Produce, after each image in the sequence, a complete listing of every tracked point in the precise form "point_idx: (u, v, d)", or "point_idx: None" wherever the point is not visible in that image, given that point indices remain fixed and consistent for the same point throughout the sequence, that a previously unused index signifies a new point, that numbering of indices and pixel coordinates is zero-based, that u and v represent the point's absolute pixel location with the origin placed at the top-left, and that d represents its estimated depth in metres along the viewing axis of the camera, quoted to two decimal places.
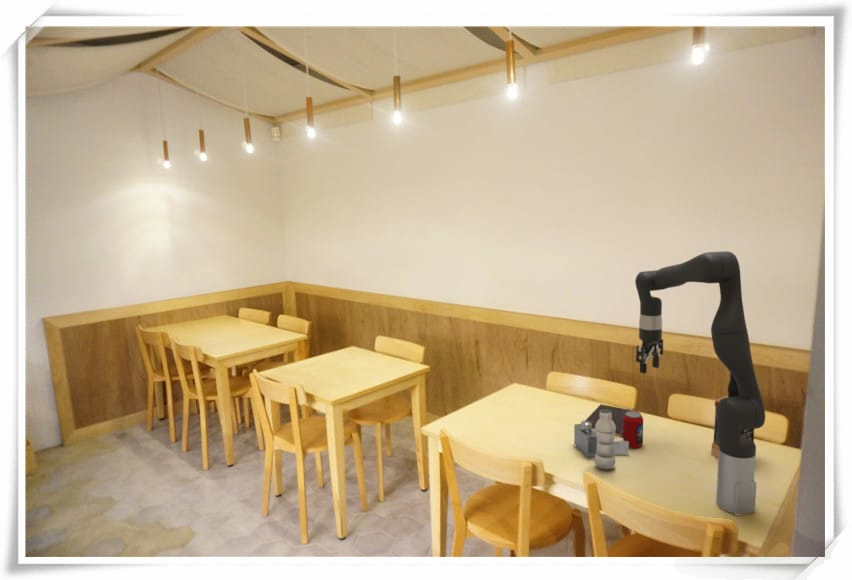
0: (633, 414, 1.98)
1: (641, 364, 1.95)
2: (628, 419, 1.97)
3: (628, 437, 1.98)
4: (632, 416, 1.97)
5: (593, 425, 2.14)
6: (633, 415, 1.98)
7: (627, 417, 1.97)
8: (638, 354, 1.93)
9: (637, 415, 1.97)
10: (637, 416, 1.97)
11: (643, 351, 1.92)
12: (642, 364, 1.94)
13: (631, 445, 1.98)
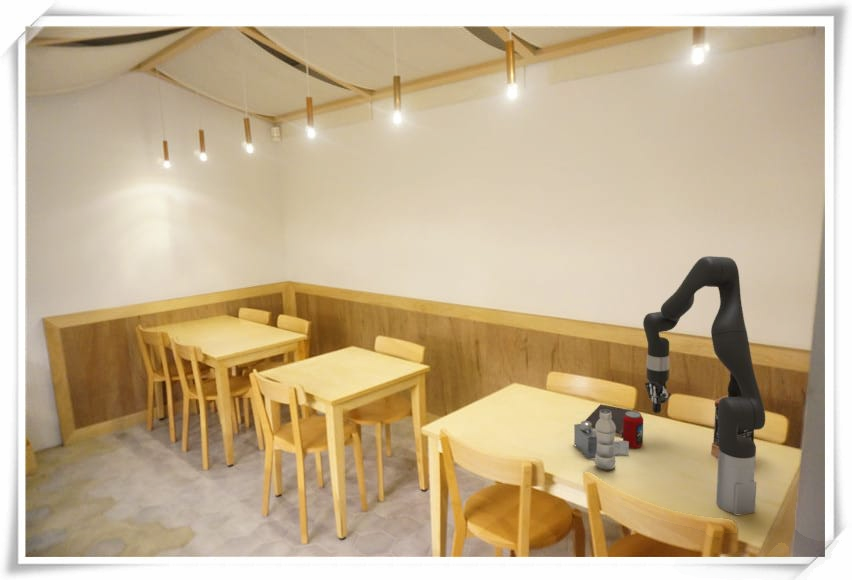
0: (633, 414, 1.98)
1: (658, 404, 1.98)
2: (628, 419, 1.97)
3: (628, 437, 1.98)
4: (632, 416, 1.97)
5: (593, 425, 2.14)
6: (633, 415, 1.98)
7: (627, 417, 1.97)
8: (663, 400, 1.94)
9: (637, 415, 1.97)
10: (637, 416, 1.97)
11: None
12: (659, 404, 1.98)
13: (631, 445, 1.98)
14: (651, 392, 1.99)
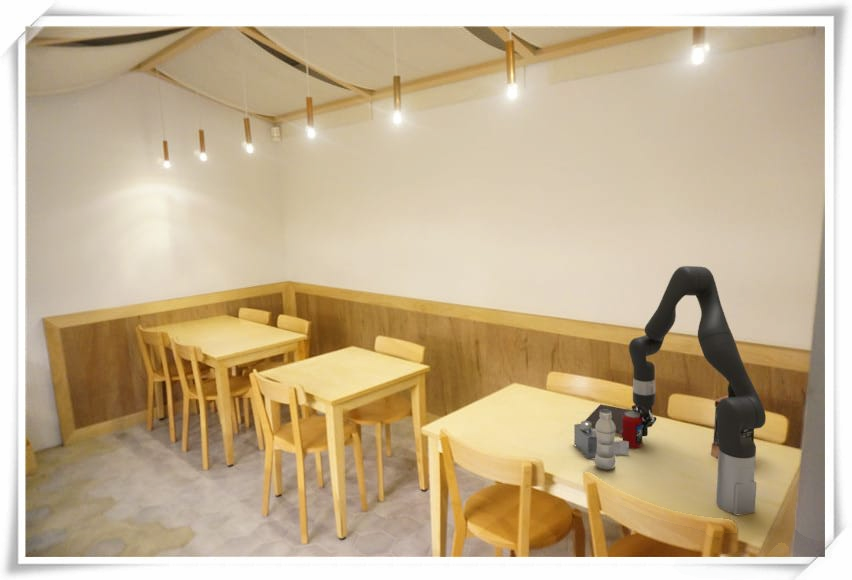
0: (632, 414, 1.98)
1: (645, 428, 1.99)
2: (627, 419, 1.97)
3: (628, 437, 1.98)
4: (631, 416, 1.97)
5: (593, 425, 2.14)
6: (632, 415, 1.98)
7: (626, 417, 1.97)
8: (649, 423, 1.95)
9: (636, 415, 1.97)
10: (636, 416, 1.97)
11: None
12: (646, 428, 1.99)
13: (630, 445, 1.97)
14: None
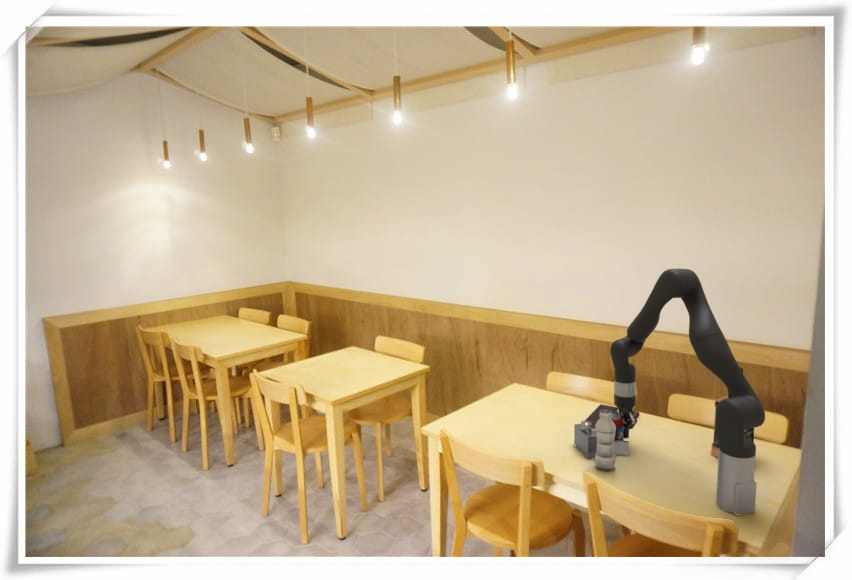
0: (613, 416, 1.97)
1: (626, 430, 1.98)
2: None
3: None
4: (612, 418, 1.96)
5: (593, 425, 2.14)
6: (613, 417, 1.97)
7: None
8: (630, 426, 1.94)
9: (617, 417, 1.96)
10: (617, 418, 1.96)
11: None
12: (627, 430, 1.98)
13: None
14: None
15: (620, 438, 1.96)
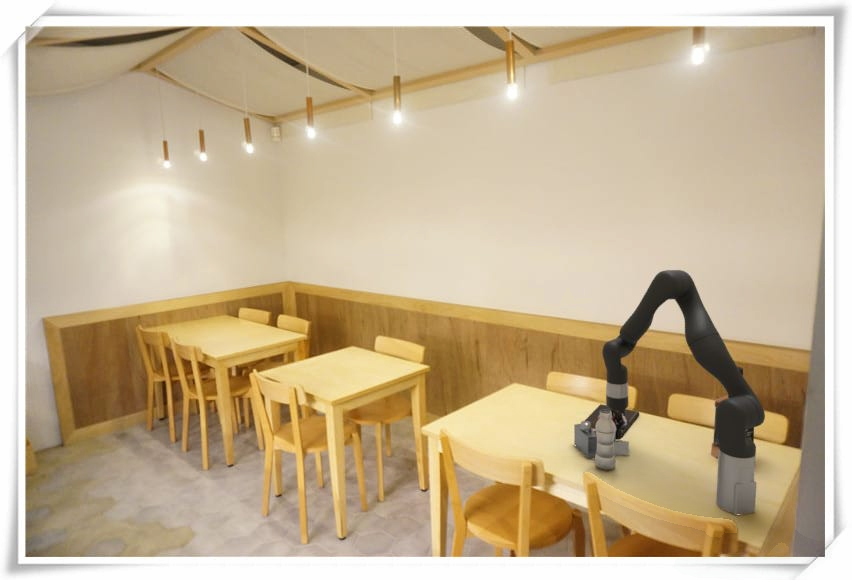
0: None
1: (619, 431, 1.97)
2: None
3: None
4: None
5: (593, 425, 2.14)
6: None
7: None
8: (622, 427, 1.94)
9: None
10: None
11: None
12: (620, 431, 1.97)
13: None
14: None
15: None
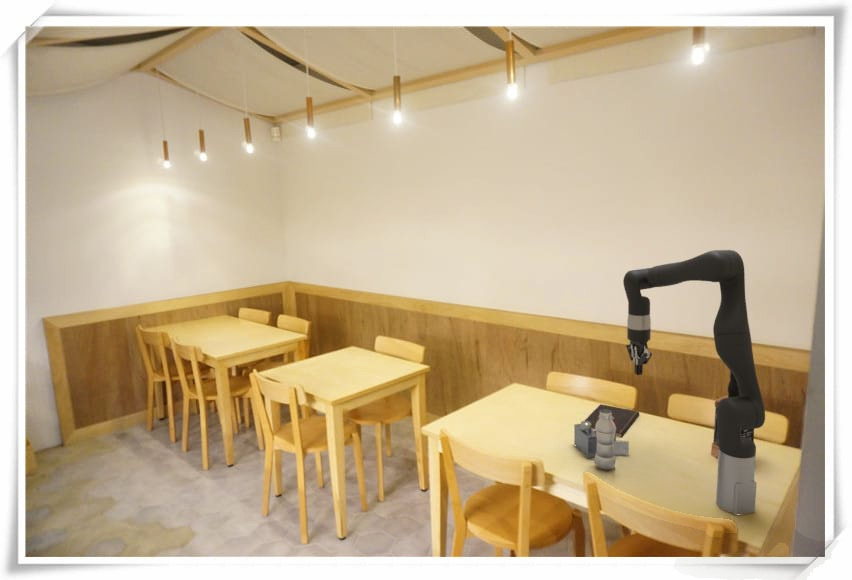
0: None
1: (640, 366, 1.92)
2: None
3: None
4: None
5: (592, 425, 2.14)
6: None
7: None
8: (644, 360, 1.88)
9: None
10: None
11: None
12: (641, 365, 1.92)
13: None
14: (632, 353, 1.93)
15: None
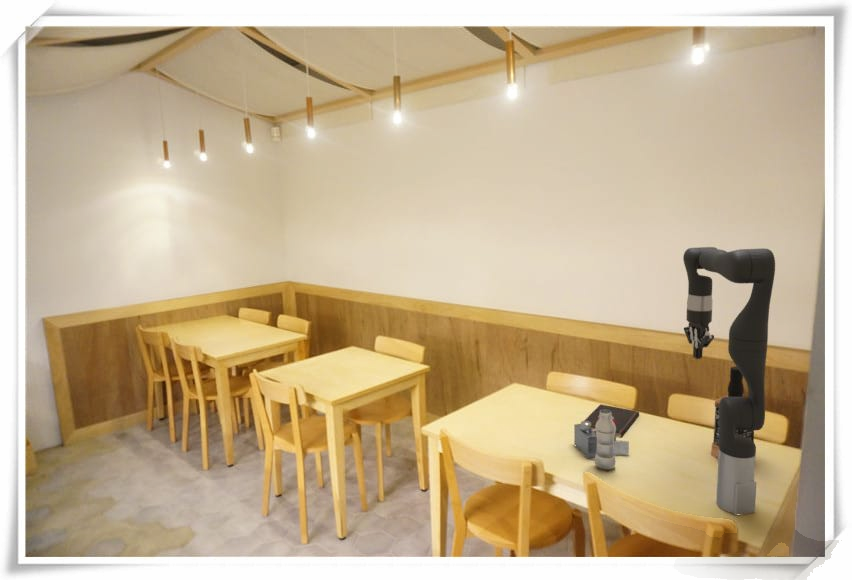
0: None
1: (700, 349, 1.83)
2: None
3: None
4: None
5: (592, 425, 2.14)
6: None
7: None
8: (706, 343, 1.79)
9: None
10: None
11: None
12: (701, 349, 1.83)
13: None
14: (692, 336, 1.84)
15: None
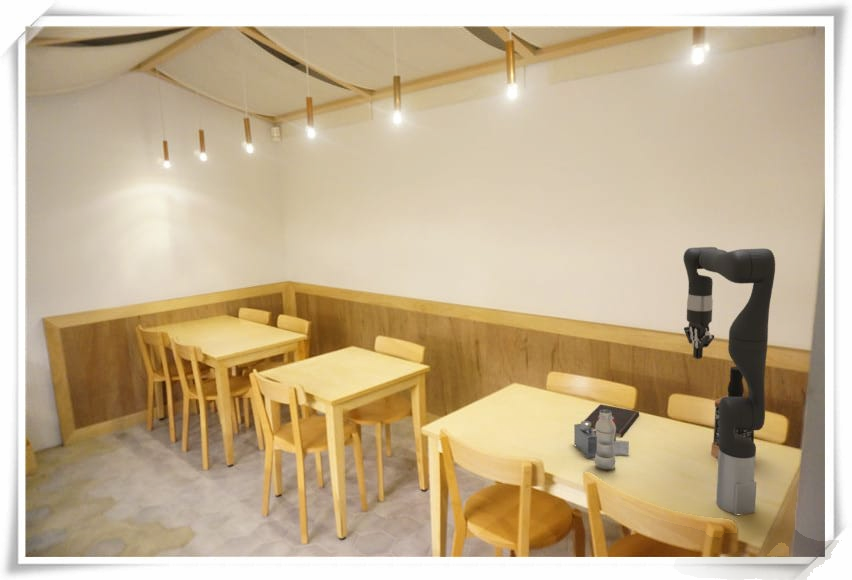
0: None
1: (700, 349, 1.83)
2: None
3: None
4: None
5: (592, 425, 2.14)
6: None
7: None
8: (706, 343, 1.79)
9: None
10: None
11: None
12: (701, 349, 1.83)
13: None
14: (692, 336, 1.84)
15: None
